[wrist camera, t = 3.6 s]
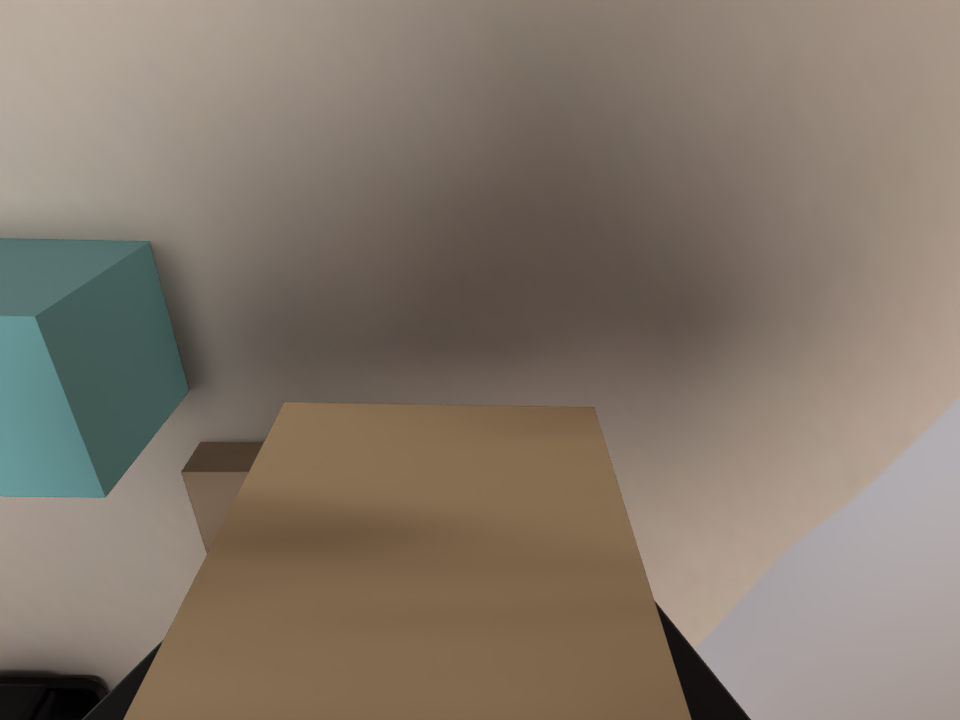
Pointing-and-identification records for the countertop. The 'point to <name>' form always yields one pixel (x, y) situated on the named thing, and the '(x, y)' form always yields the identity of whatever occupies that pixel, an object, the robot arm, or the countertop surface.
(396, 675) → the oak block
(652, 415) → the countertop surface
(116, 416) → the teal block
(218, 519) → the walnut board
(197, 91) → the countertop surface
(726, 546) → the countertop surface
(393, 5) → the countertop surface
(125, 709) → the robot arm
